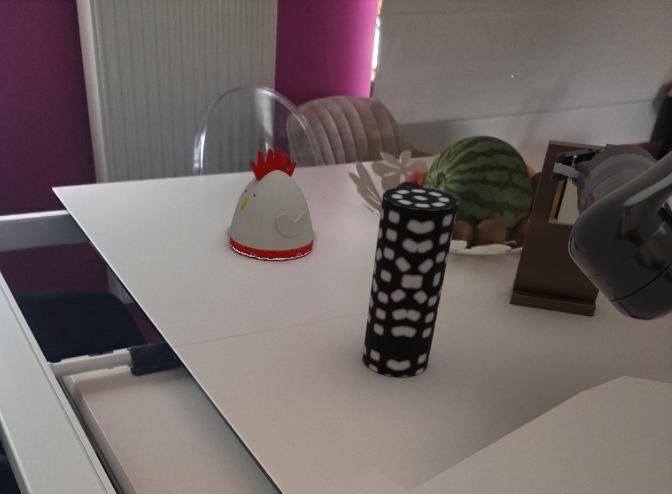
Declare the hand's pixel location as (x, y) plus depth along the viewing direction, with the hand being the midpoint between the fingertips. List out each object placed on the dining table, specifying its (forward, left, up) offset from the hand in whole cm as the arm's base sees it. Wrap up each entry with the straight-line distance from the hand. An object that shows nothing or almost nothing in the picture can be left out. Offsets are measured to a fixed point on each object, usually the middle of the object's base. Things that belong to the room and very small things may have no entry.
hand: (609, 154), depth 83 cm
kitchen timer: (+50, -5, -24) cm, 56 cm away
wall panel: (+5, -15, -24) cm, 29 cm away
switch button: (+4, -11, -11) cm, 16 cm away
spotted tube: (+14, +17, -24) cm, 33 cm away
